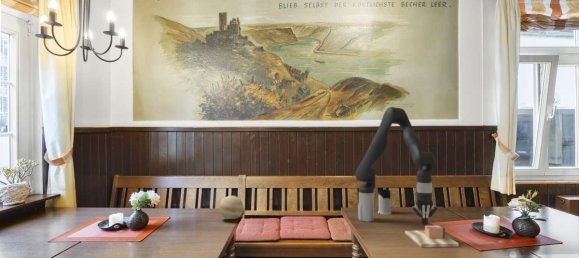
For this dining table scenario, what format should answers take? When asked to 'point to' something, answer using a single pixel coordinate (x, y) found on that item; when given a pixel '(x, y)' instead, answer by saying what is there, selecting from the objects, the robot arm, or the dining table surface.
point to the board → (430, 240)
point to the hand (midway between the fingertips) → (424, 225)
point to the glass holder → (385, 201)
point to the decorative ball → (231, 207)
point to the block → (435, 231)
